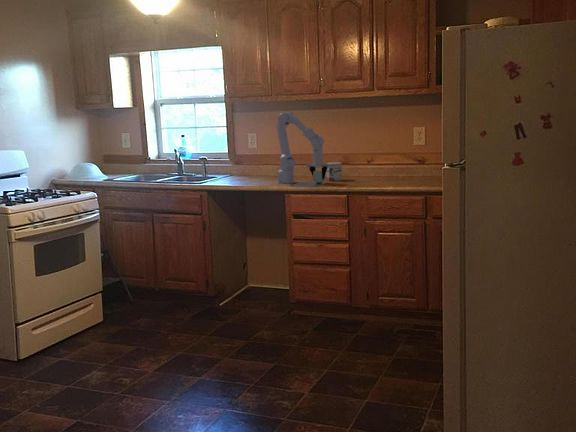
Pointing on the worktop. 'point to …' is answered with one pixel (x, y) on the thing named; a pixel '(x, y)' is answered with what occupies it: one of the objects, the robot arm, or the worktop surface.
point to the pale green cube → (317, 176)
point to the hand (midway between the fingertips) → (318, 179)
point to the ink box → (334, 171)
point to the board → (307, 184)
